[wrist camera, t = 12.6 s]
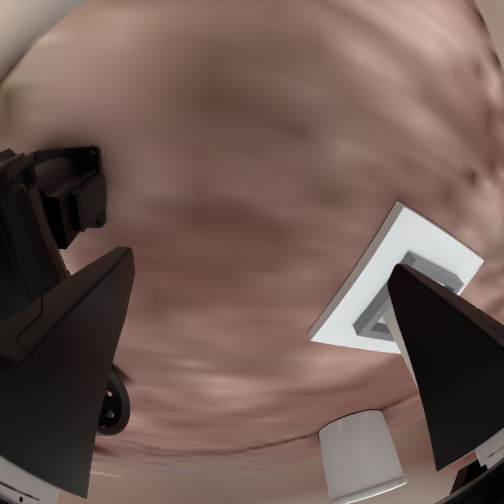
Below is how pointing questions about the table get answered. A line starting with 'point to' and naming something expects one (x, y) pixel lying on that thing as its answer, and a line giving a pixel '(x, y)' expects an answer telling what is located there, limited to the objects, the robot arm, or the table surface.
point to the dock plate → (378, 272)
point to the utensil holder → (359, 457)
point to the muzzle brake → (114, 407)
